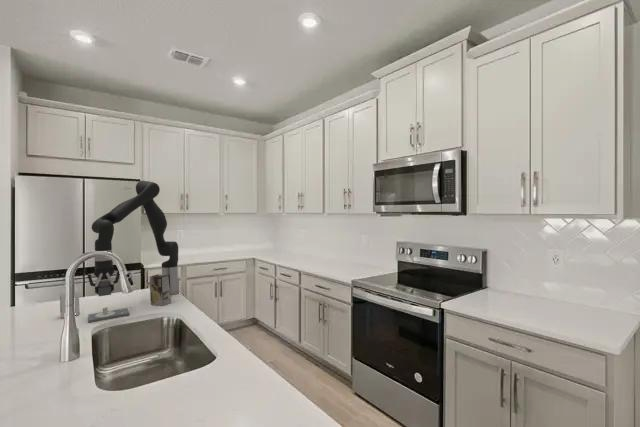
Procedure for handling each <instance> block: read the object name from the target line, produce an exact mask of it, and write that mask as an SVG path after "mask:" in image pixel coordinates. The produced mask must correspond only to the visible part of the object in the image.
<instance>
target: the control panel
mask: <svg viewBox="0 0 640 427" xmlns="http://www.w3.org/2000/svg"><path fill="white" fill-rule="evenodd" d="M129 316H130V311H129V308H128V307H124V308H118V309H113V310H109V307H103V308H102V311H101V312H94V313H90V314H88V315H87V317H88V318H87V319H88V320H87V321H88V323H87V324H90V323H91V324H92V323H95V322H100V321H101V322H103V321H108V320H113V319H118V318H122V317H129Z"/></svg>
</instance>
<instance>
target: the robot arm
mask: <svg viewBox="0 0 640 427" xmlns="http://www.w3.org/2000/svg"><path fill="white" fill-rule="evenodd" d="M135 193H136V196H134V197H131V198H129V199H127V200H125V201H123V202H121V203H119V204H118V205H116V206H114V208H112V209H111V210H110V211H109V212H107V213H104V215H102V216H100V217H98V218H97V219H96V220H95V221H94V222H92V224H91V230H92V231H93V232H94V233H96V234H98V236H97V239H95V240H94V252H95V251H107V252H111V253H112V254H113V251H112V250H113V246H112V242H113V236H114V230H115V227H114V224H118V223H120V222H122V221H123V220H124V219H125V218H126V217H128V216H129V215H130V214H132V213H133V212H134V211H135V210H137V209H139V207H142V206H143V209H144V211H145V215H146V217H147V220H148V223H149V226H150V228H151V231H152V233H153V236H154V240H155V244H156V248H157V251H158V254H159V255H160V256H162V257H168V258H169V259H168V260H165V261H163V262H162V263H161V275H170V296H173V295H176V294H179V293H180V279H179V271H178V270H179V267H178V265H179V244H178V242H177V241H172V240H171V241H166V240H165V237H164V235H165V232H166V229H167V226H168V221H167V218H166V215H165V213H164V212H163V210H162V209H161V208H160V207H159V206H158V204H157V203H156V201H155V200H154V199H155V198H156V197H158V196H159V194H160V186H159V184H158V183H156V182H154V181H149V180H140V181H138V182H137V183H136V184H135ZM93 259H94V271H93V273H92V272H91V273H88V274H87V279H88V281H89V284H90V285H89V286H91V287H94V293H95V294H97V295H98V284H99V282H100V281H102V280H103V279H105V280H109V281H110V283H111V293H113V292H114V290H115V284H118V282H119V280H120V279H119V278H120V275H121V273H120V274H119V271H120V270H114V262H113V261H114V260H113V261H112V260H110V259H108V258H105V257H95V256H94V258H93ZM113 274H114V275H115V279H114V280H113V278H112V276H113ZM94 277H96V281H95V283H94V282H93V278H94Z"/></svg>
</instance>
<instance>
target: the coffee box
mask: <svg viewBox="0 0 640 427" xmlns="http://www.w3.org/2000/svg"><path fill="white" fill-rule="evenodd" d="M149 290H150V291H149V293H150V294H149V296H150V305H151V306H162V307H163V306H166V305H168V304H170V303H172V302H171V299H172V298H171V297H172V295H170V275H162V274H154V275H152V276H149Z"/></svg>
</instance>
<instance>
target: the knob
mask: <svg viewBox="0 0 640 427" xmlns="http://www.w3.org/2000/svg"><path fill="white" fill-rule="evenodd" d="M97 295H98V297H105V296H111V295H112V292H111V283H110V281H109V279H103V280H100V282H99V284H98V294H97Z"/></svg>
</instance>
